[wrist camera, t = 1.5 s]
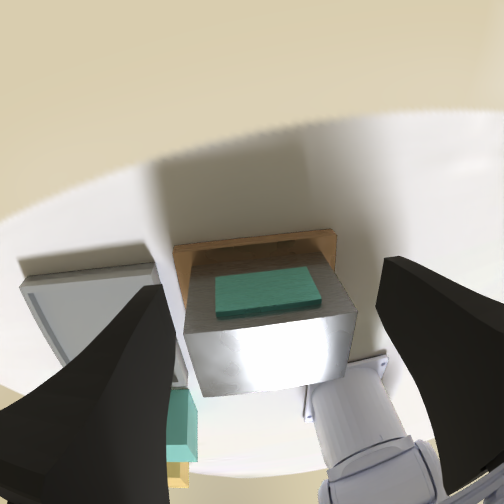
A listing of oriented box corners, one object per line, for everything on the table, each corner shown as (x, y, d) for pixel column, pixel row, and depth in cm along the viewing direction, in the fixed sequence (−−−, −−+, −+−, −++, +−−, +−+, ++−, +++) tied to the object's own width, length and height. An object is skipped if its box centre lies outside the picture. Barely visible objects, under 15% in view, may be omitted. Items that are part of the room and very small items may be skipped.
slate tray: (188, 372, 24) (187, 386, 23) (79, 373, 23) (75, 385, 22) (155, 262, 19) (151, 274, 18) (27, 276, 18) (18, 287, 17)
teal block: (197, 410, 27) (197, 461, 22) (160, 412, 27) (155, 461, 22) (188, 388, 25) (187, 444, 20) (148, 390, 25) (140, 444, 20)
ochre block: (189, 447, 31) (188, 487, 26) (158, 446, 31) (156, 486, 26) (181, 433, 29) (179, 477, 24) (148, 433, 29) (144, 476, 24)
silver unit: (325, 313, 22) (356, 383, 16) (193, 329, 22) (189, 407, 16) (331, 228, 19) (379, 290, 13) (174, 245, 18) (156, 319, 12)
